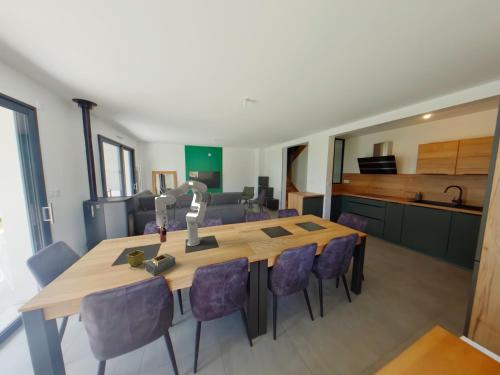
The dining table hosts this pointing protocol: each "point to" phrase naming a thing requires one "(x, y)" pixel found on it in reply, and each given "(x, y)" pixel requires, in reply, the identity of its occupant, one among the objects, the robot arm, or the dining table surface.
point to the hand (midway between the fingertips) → (162, 234)
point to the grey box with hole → (160, 264)
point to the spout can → (162, 238)
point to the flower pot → (135, 257)
